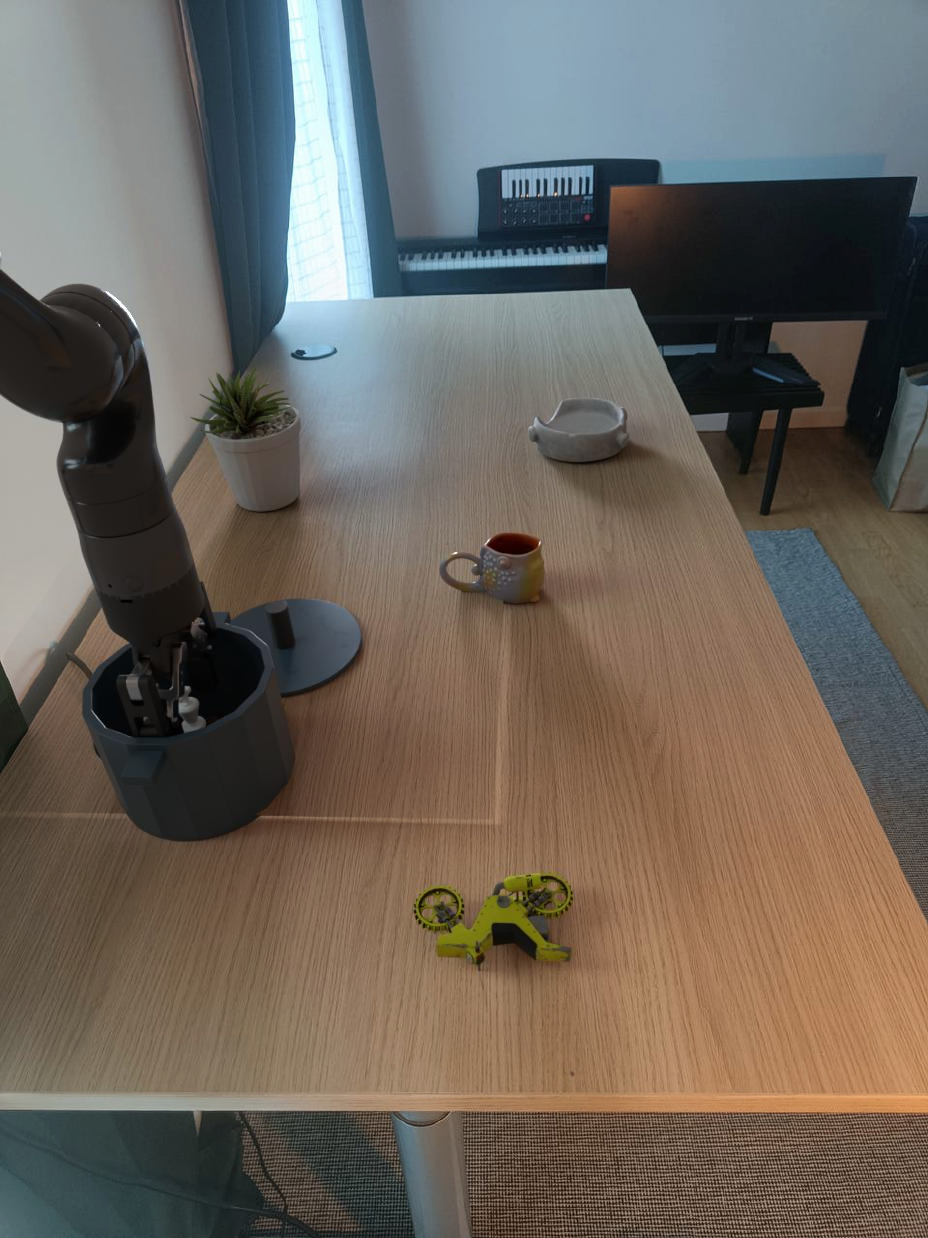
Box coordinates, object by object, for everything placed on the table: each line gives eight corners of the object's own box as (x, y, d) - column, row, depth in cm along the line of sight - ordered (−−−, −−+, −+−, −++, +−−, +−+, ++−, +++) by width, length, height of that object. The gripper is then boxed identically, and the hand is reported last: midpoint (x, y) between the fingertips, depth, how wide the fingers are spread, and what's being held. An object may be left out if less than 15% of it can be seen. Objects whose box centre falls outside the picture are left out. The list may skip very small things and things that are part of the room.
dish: (523, 461, 127) (522, 429, 124) (547, 422, 138) (547, 392, 135) (621, 471, 123) (623, 439, 120) (638, 431, 134) (640, 400, 131)
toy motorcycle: (568, 856, 66) (587, 939, 60) (567, 886, 68) (586, 969, 63) (410, 874, 65) (415, 960, 60) (414, 904, 68) (419, 989, 62)
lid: (187, 702, 88) (172, 656, 85) (232, 606, 101) (221, 563, 98) (348, 702, 87) (340, 657, 83) (373, 605, 100) (367, 562, 97)
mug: (542, 572, 104) (542, 524, 100) (546, 606, 98) (547, 556, 94) (442, 577, 104) (438, 529, 100) (440, 610, 99) (436, 561, 95)
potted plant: (205, 493, 124) (170, 356, 113) (297, 469, 129) (272, 335, 117) (228, 532, 115) (192, 387, 103) (326, 504, 120) (302, 362, 108)
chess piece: (170, 785, 78) (140, 702, 72) (196, 747, 82) (169, 665, 76) (220, 793, 77) (193, 710, 71) (244, 754, 81) (220, 672, 75)
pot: (81, 865, 72) (32, 769, 65) (166, 696, 89) (135, 605, 82) (264, 869, 71) (234, 771, 64) (315, 697, 88) (296, 604, 81)
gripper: (129, 518, 72) (177, 668, 82) (53, 621, 61) (120, 781, 71) (217, 517, 72) (255, 668, 81) (157, 621, 60) (209, 782, 70)
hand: (192, 720), depth 76 cm, fingers open, 8 cm apart
